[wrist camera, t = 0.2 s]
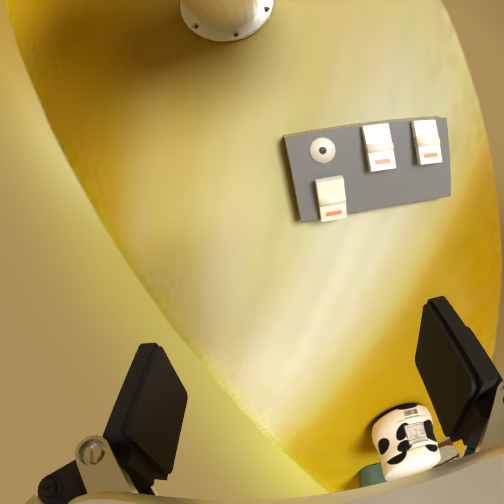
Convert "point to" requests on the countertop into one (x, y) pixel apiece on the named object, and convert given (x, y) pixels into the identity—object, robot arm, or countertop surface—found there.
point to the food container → (447, 452)
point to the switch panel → (366, 167)
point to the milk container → (405, 441)
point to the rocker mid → (378, 147)
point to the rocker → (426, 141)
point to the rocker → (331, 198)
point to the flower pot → (371, 475)
